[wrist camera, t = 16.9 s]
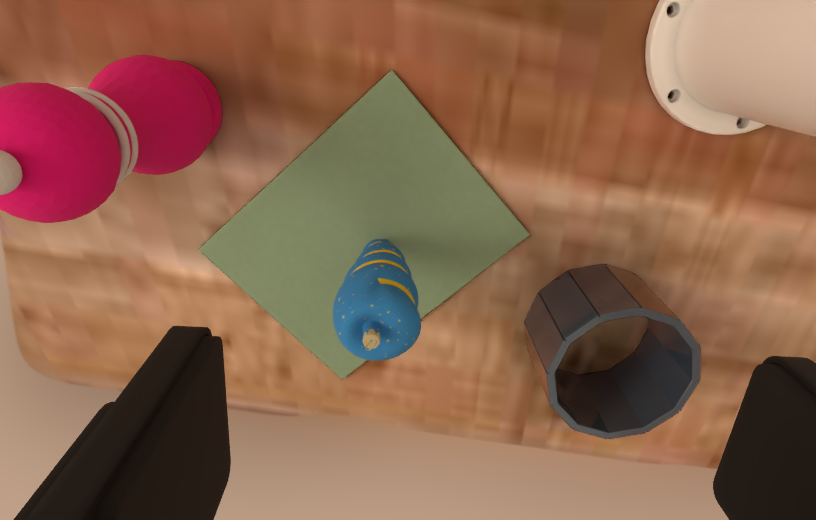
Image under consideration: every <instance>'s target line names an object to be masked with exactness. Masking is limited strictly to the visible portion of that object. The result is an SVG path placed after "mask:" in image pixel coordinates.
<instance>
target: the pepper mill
mask: <svg viewBox="0 0 816 520" xmlns="http://www.w3.org/2000/svg"><path fill="white" fill-rule="evenodd" d="M221 121H222V105H221V101H220V97H219V95H218V93H217V90H216V89H215V87H214V85H213V84H212V82H211V81H210V80H209V79H208V78H207V77H206V76H205V75H204V74H203V73H202V72H201V71H199V70H198V69H197V68H195V67H193V66H191V65H189V64H186V63H183V62H180V61H173V60H167V59H164V58H160V57H156V56H150V55H136V56H131V57H127V58H124V59H120V60H117V61H115V62H113V63H111V64H110V65H108V66H106V67H105V68H104V69H103V70H102V71H101V72H99V74H98V75H97V76H96V77H95V78H94V79H93V81H92V82H91V83H90V86H89V88H88V89H87V88H82V87H68V88H61V87H58V86H55V85H52V84H48V83H32V82H31V83H16V84H12V85H8V86H4V87H1V88H0V210H2V211H4V212H7V213H9V214H11V215H13V216H16V217H19V218H22V219H25V220H29V221H35V222H42V223H54V222H62V221H67V220H72V219H75V218H78V217H81V216H83V215H86V214H88V213H90V212H91V211H93V210H95V209H96V208H97V207H99V206H100V205H101V204H102V203H104V202H105V201H106V200H107V198H108V197H109V196H110V195H111V193H112V192H113V191H114V189H115V186H116V185H117V184H119V183H120V182H122V181H123V180H124V179H125V178H126V177H128V175H129V174H130V173H131V172H132V171H133V172H137V173H142V174H152V175H159V174H167V173H172V172H175V171H178V170H180V169H183V168H185V167H186V166H188V165H190V164H192V163H193V162H194V161H195V160H196V159H198V158H199V157H200V155H201V154H202V153H203V152H204V150H205V149H206V147H207V144H209V143H210V142H211V141H212V140H213V139H214V137H215V136H216V134H217V133H218V131H219V128H220V126H221Z"/></svg>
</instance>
